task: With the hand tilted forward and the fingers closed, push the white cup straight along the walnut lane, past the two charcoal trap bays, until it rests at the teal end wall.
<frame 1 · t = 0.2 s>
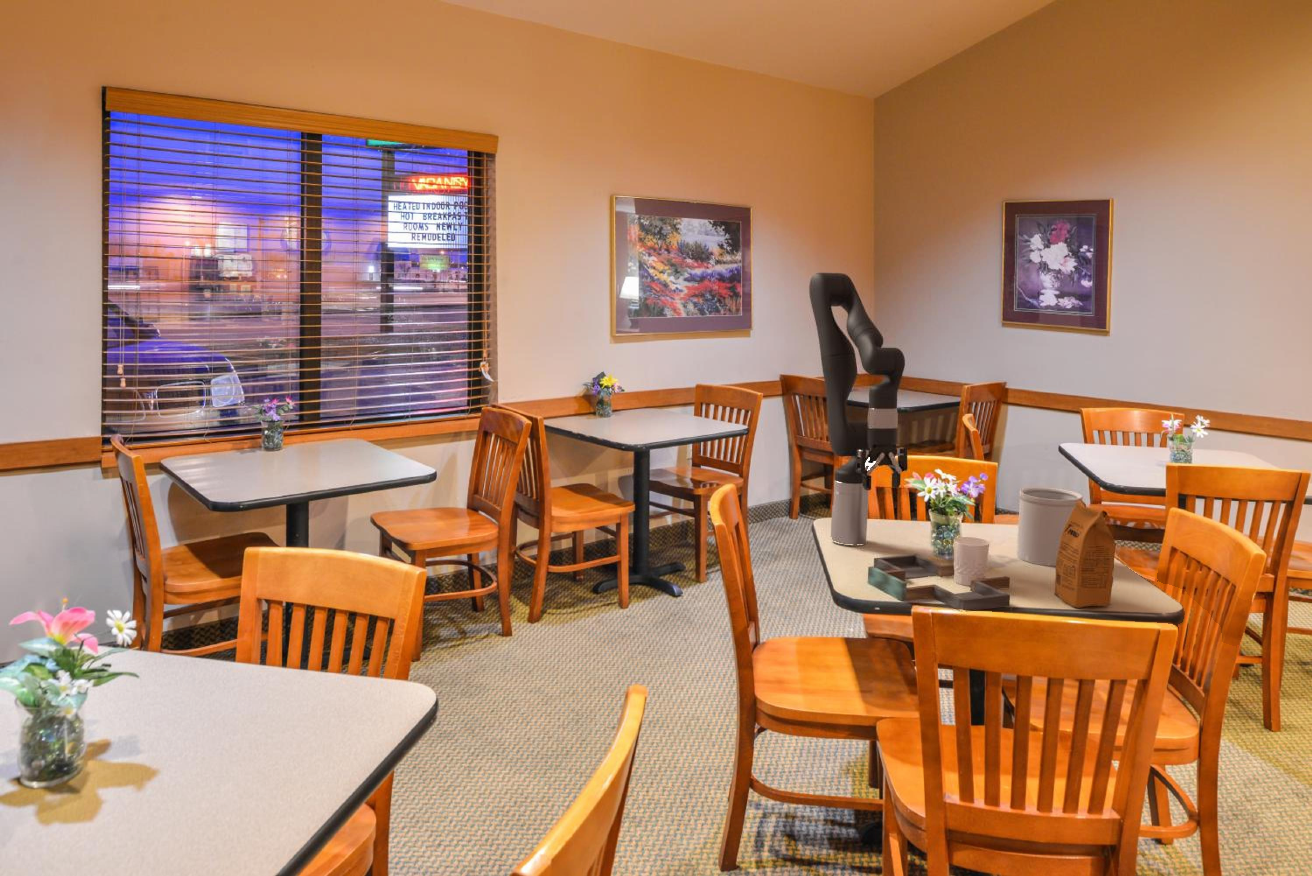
hand: (881, 488, 235), 18 cm above the table, tool pointing down, fingers open, 8 cm apart
white cup: (968, 583, 216), on the table
utensil holder: (1045, 560, 236), on the table
trap box: (937, 585, 213), on the table
coffee package: (1080, 601, 204), on the table
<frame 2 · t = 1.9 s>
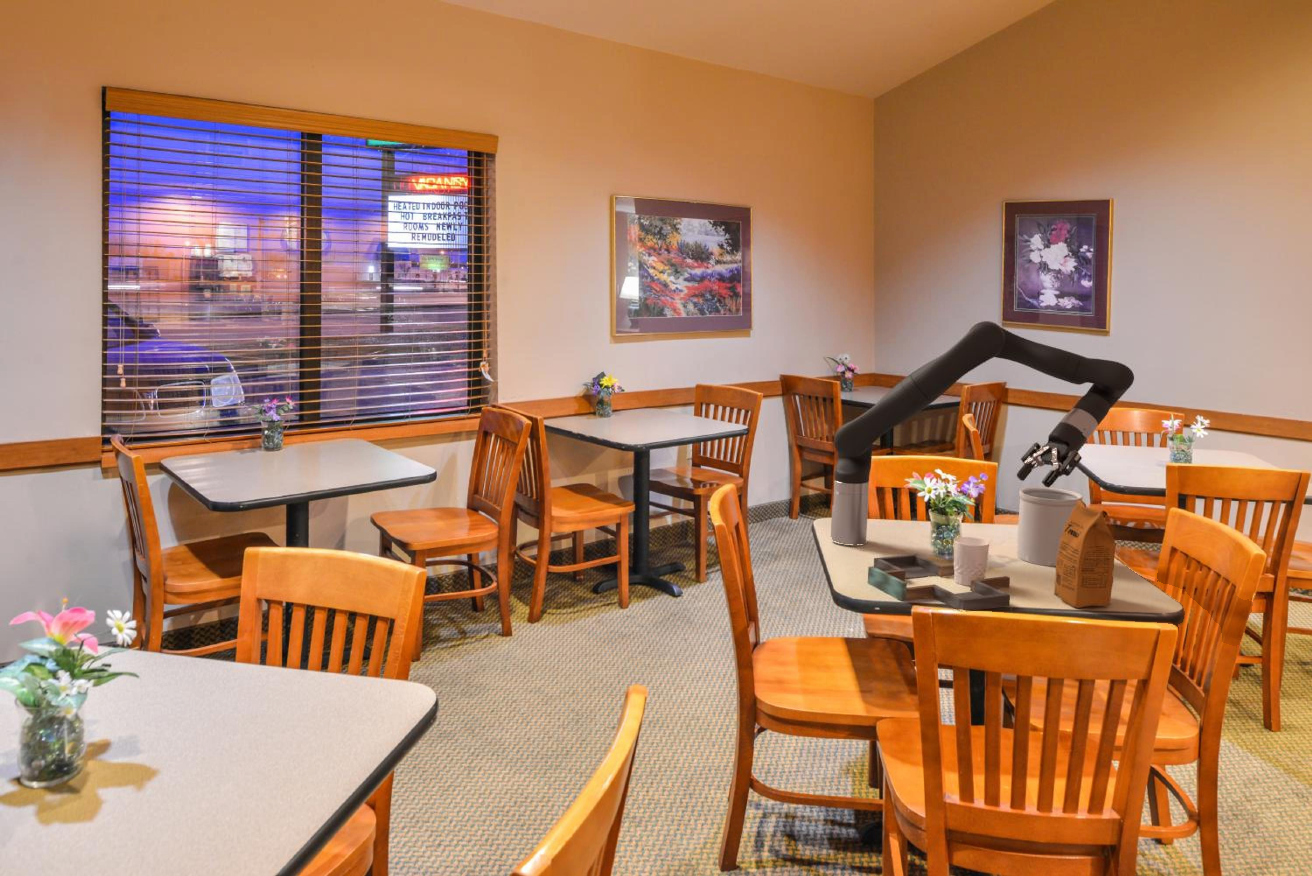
hand: (1032, 481, 218), 23 cm above the table, tool tilted 45°, fingers open, 8 cm apart
nothing on the table moved.
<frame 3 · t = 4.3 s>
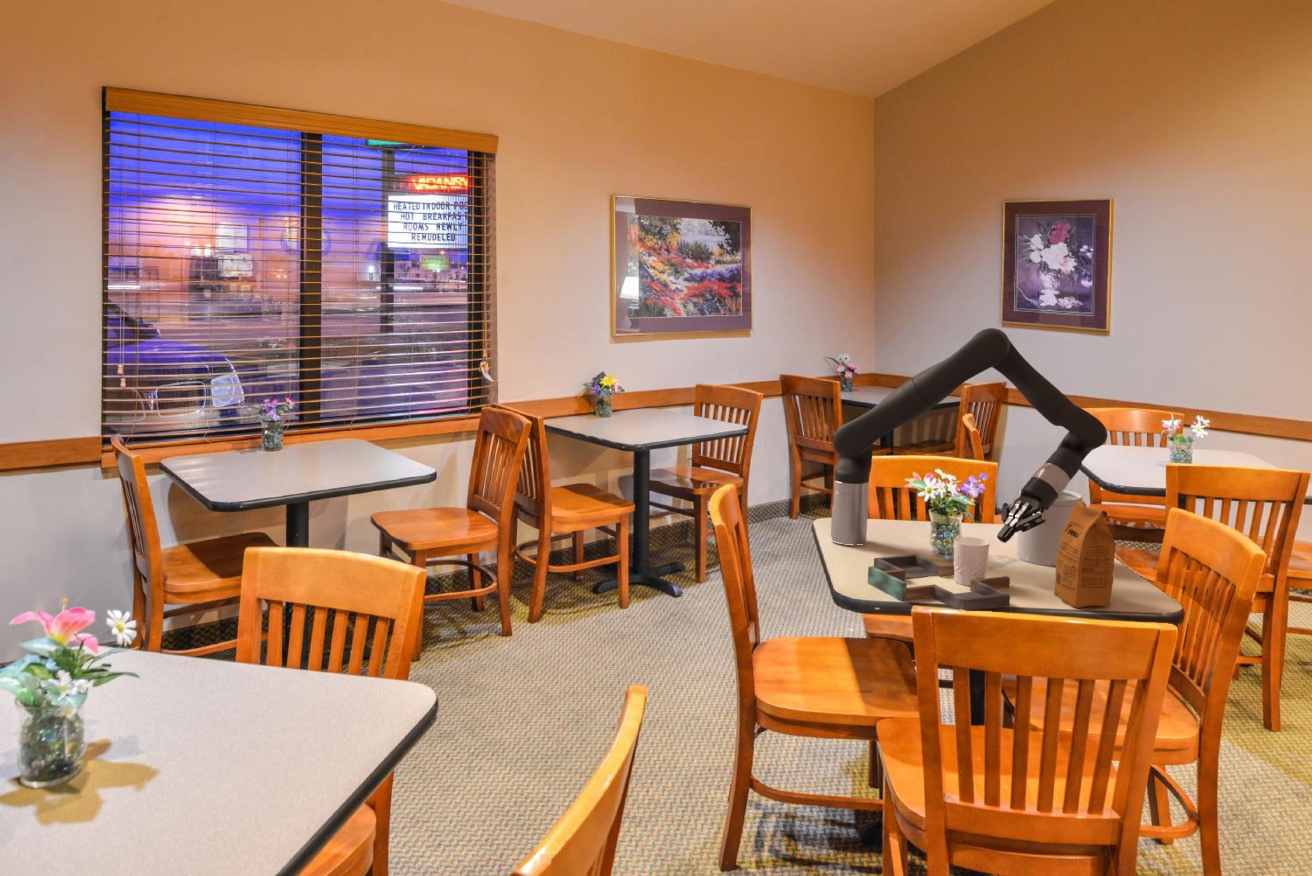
hand: (1000, 540, 217), 10 cm above the table, tool tilted 45°, fingers closed
nothing on the table moved.
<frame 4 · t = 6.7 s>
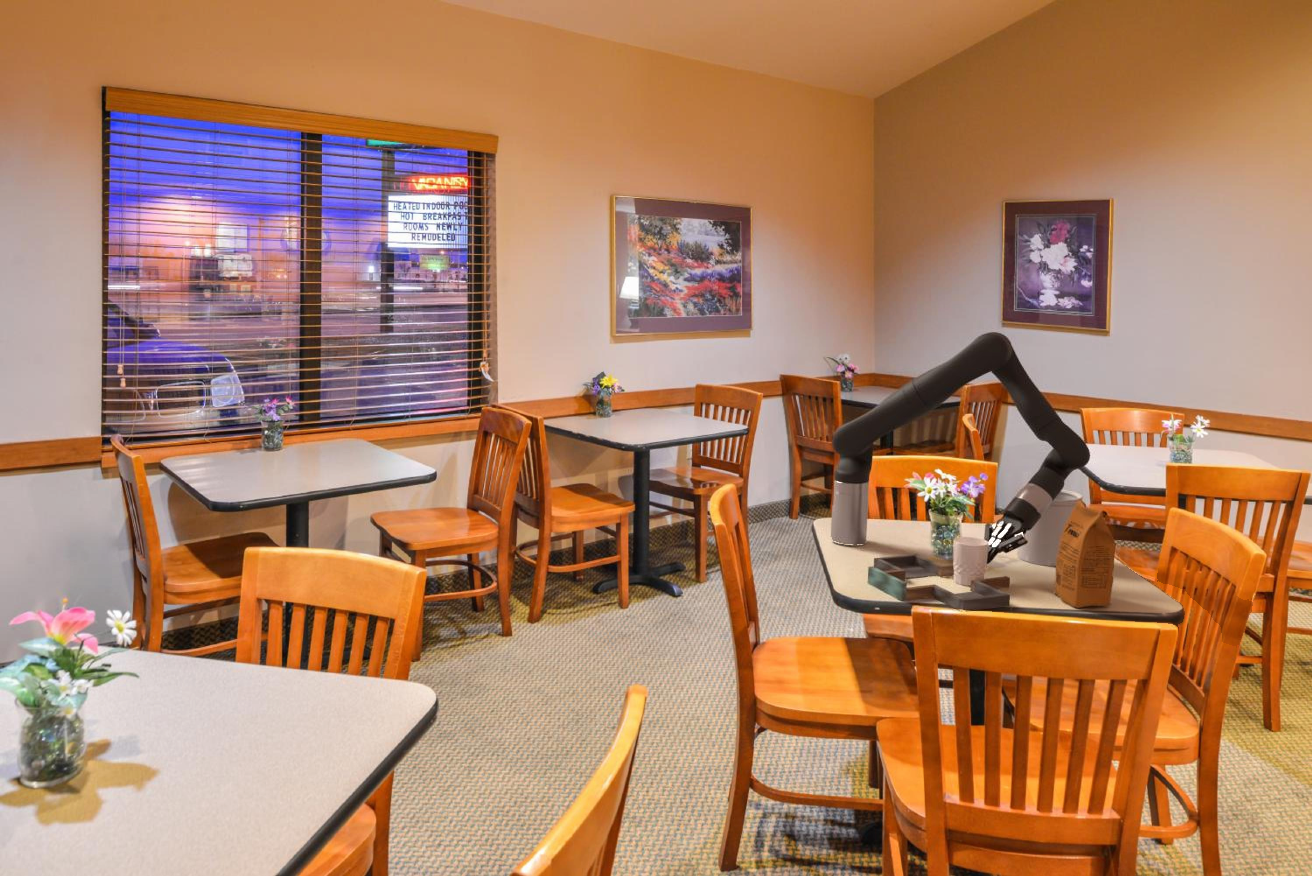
hand: (983, 560, 217), 5 cm above the table, tool tilted 45°, fingers closed
white cup: (968, 583, 216), on the table, touching gripper
everything else where it was.
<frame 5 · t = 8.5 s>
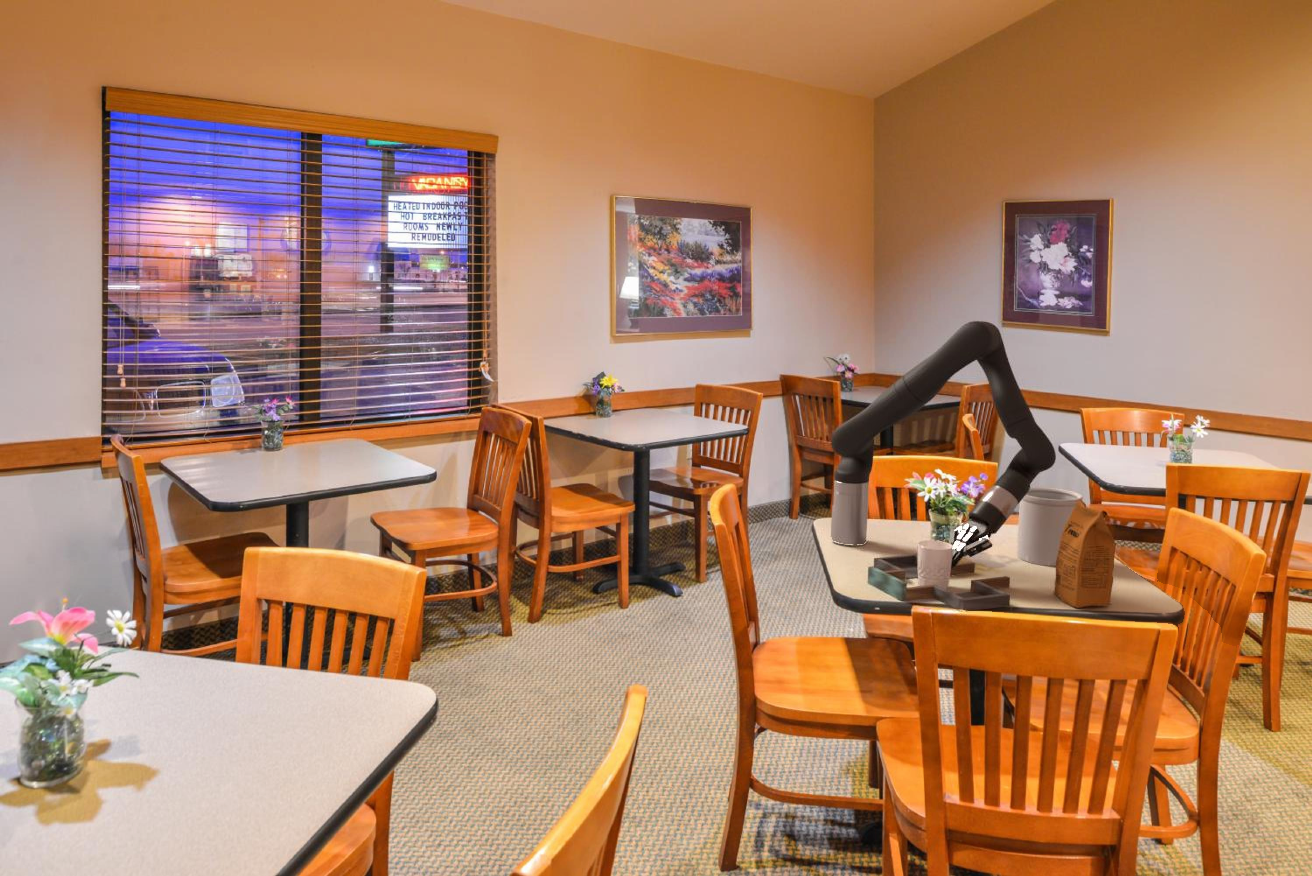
hand: (948, 564, 213), 5 cm above the table, tool tilted 45°, fingers closed
white cup: (932, 587, 212), on the table, touching gripper
everything else where it was.
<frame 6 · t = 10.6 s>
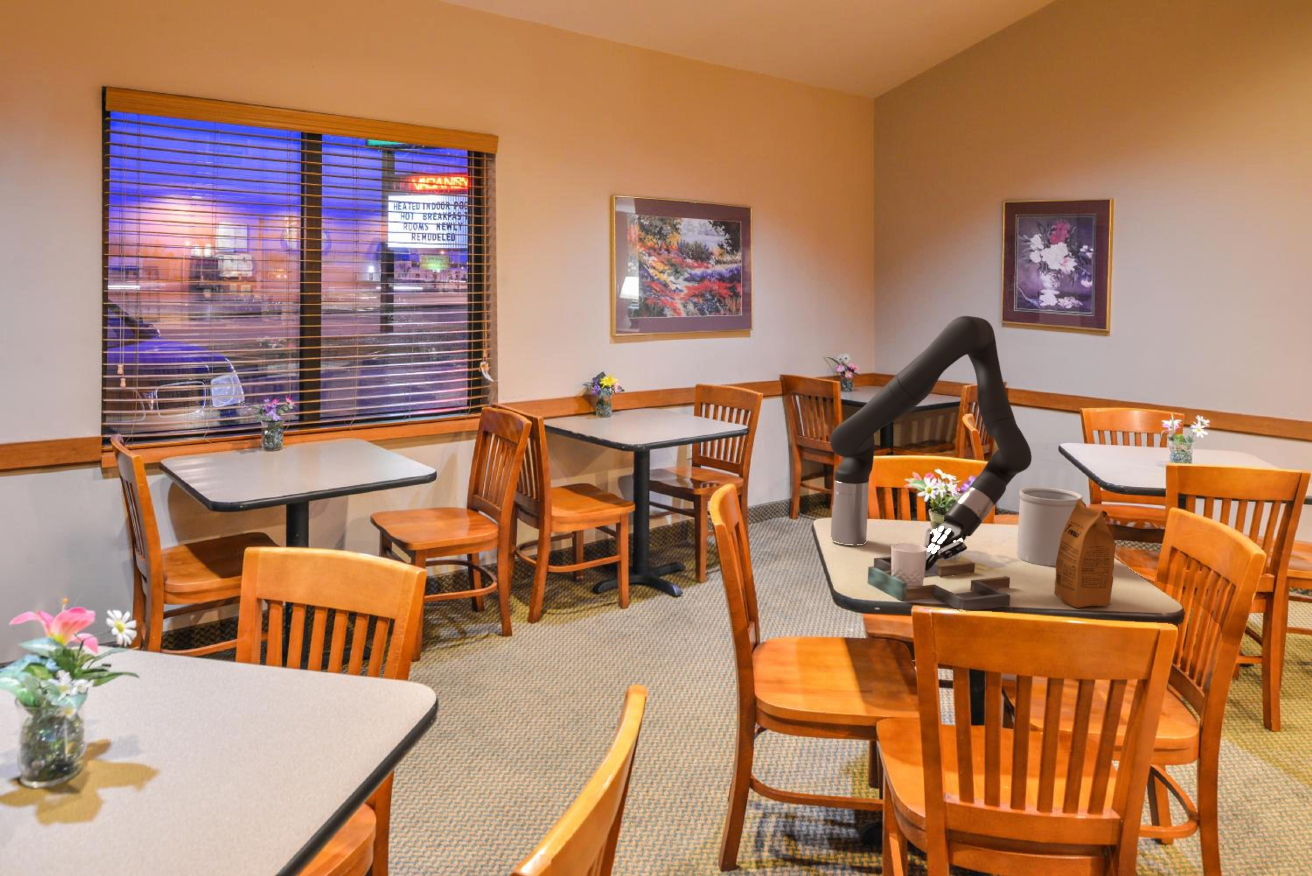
hand: (922, 567, 211), 5 cm above the table, tool tilted 45°, fingers closed
white cup: (906, 590, 210), on the table, touching gripper
everything else where it was.
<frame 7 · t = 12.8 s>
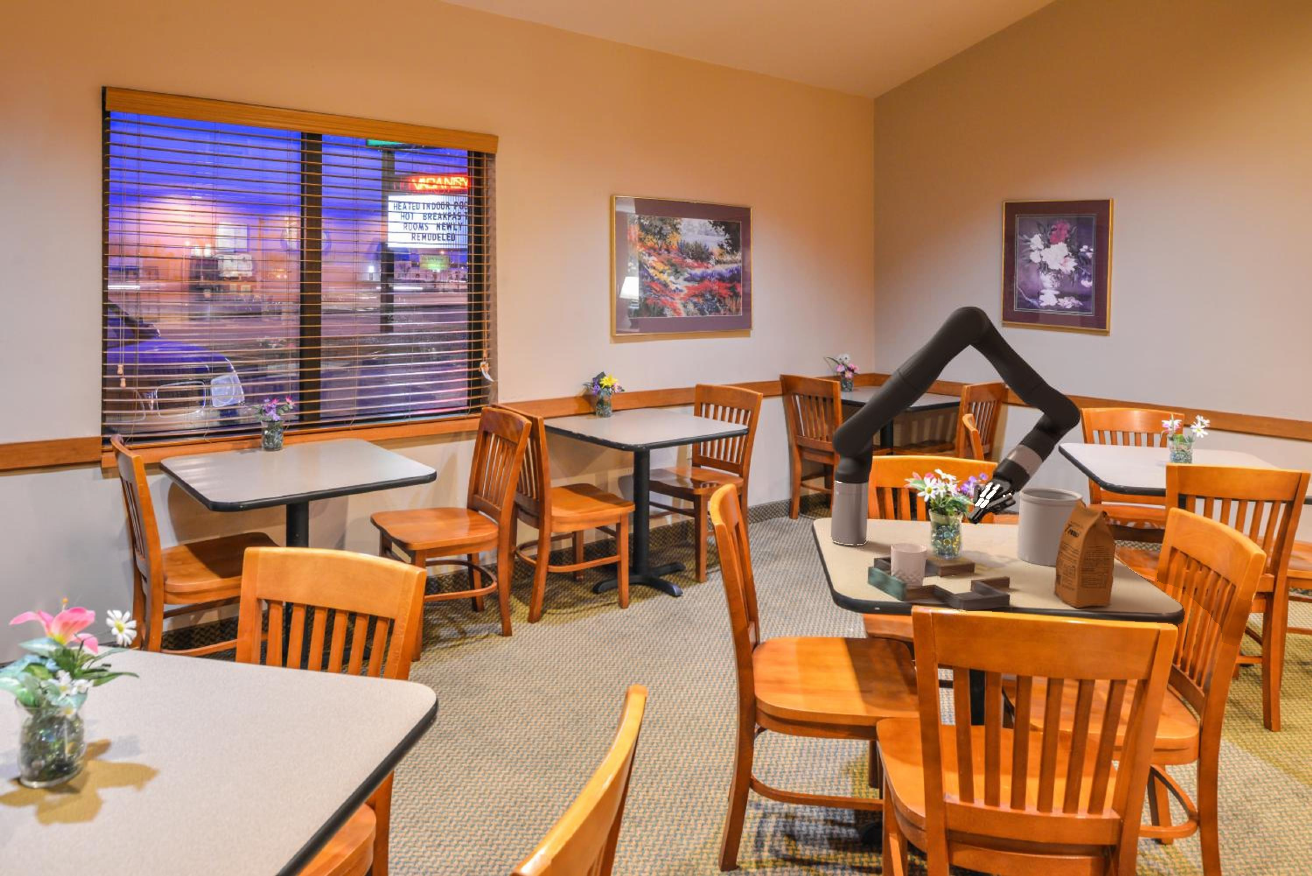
hand: (971, 521, 215), 14 cm above the table, tool tilted 45°, fingers closed
white cup: (906, 590, 210), on the table
everything else where it was.
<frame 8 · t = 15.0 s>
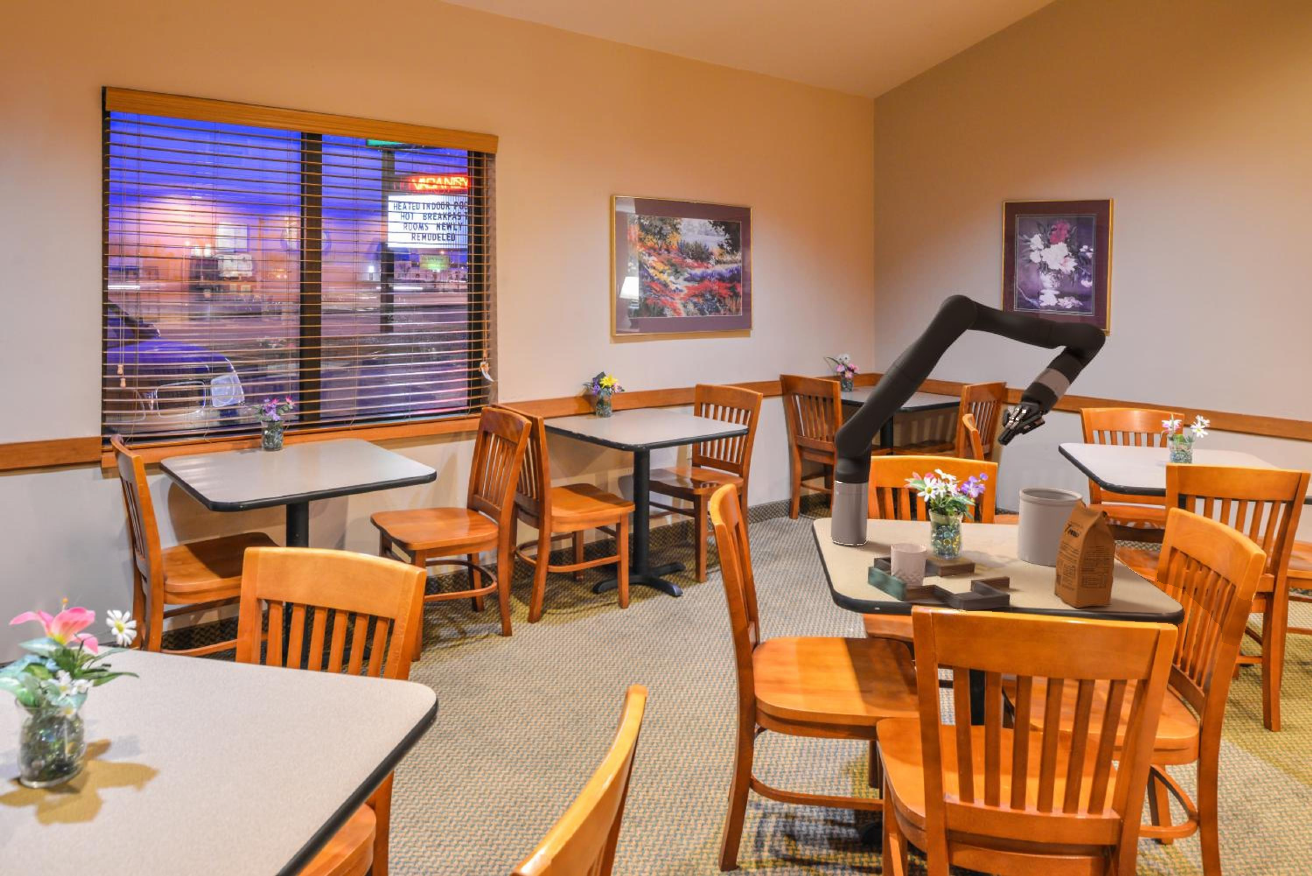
hand: (1001, 443, 221), 32 cm above the table, tool tilted 45°, fingers closed
nothing on the table moved.
at the end: white cup 0.7 cm from the target spot on the trap box, point 0.0 cm above the trap box's base; white cup tilted 0° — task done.
